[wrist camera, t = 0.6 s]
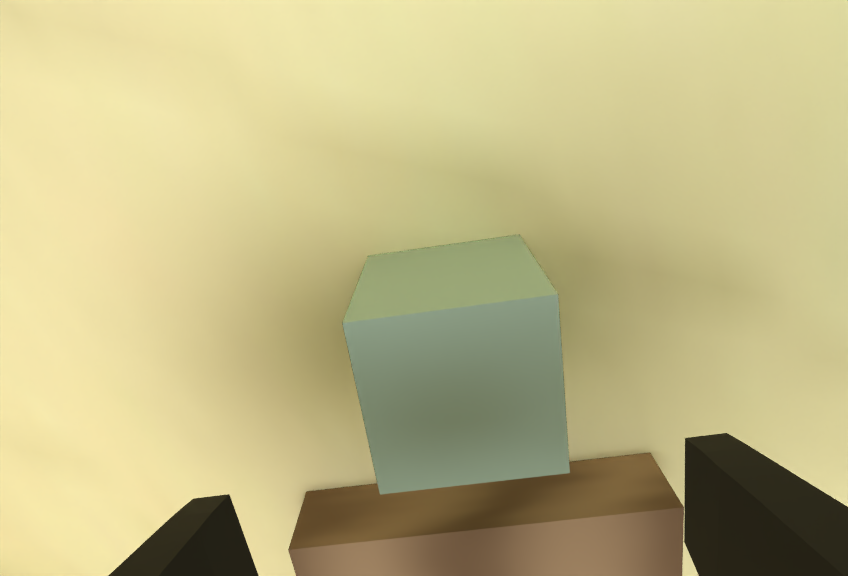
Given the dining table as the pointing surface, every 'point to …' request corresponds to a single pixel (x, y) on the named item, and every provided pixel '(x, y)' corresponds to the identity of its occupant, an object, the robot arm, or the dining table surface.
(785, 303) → the dining table surface
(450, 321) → the sage block
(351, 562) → the walnut box
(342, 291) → the dining table surface
